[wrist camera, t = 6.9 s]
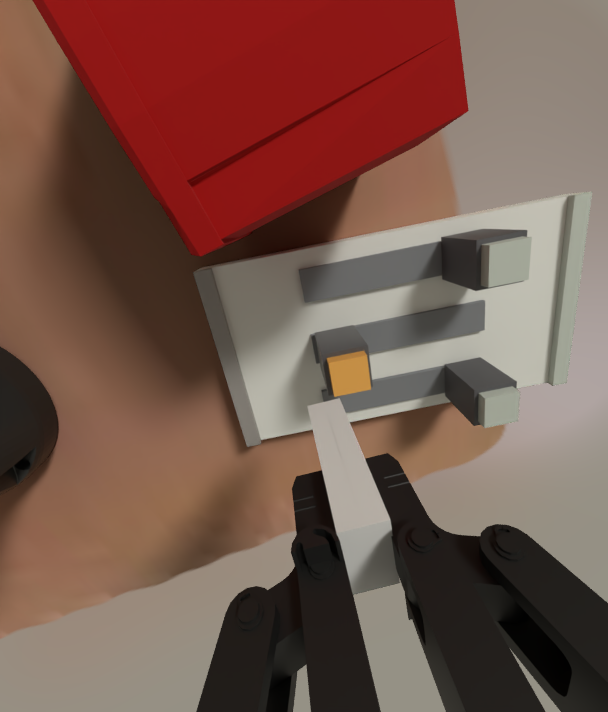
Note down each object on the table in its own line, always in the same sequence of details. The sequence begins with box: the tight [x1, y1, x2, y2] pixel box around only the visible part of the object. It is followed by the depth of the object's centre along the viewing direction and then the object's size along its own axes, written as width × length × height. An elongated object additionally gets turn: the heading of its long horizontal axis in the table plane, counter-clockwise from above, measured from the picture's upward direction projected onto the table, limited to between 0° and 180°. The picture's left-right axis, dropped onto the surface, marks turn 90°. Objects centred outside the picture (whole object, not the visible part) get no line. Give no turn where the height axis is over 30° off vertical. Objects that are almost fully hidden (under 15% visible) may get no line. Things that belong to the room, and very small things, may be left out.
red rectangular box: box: [33, 0, 468, 256], centre depth 14 cm, size 16×11×15 cm
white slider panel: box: [193, 192, 592, 447], centre depth 24 cm, size 28×15×8 cm, turn 101°
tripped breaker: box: [314, 325, 373, 397], centre depth 23 cm, size 3×3×5 cm
